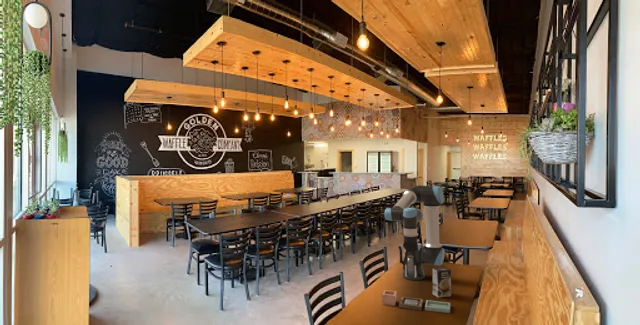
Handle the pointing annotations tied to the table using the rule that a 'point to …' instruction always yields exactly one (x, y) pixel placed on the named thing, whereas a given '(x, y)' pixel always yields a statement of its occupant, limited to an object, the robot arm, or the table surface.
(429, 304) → the tray
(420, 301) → the base
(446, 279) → the coffee box
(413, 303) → the pale grey square tile
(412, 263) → the cell
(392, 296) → the pink open box
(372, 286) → the table surface
